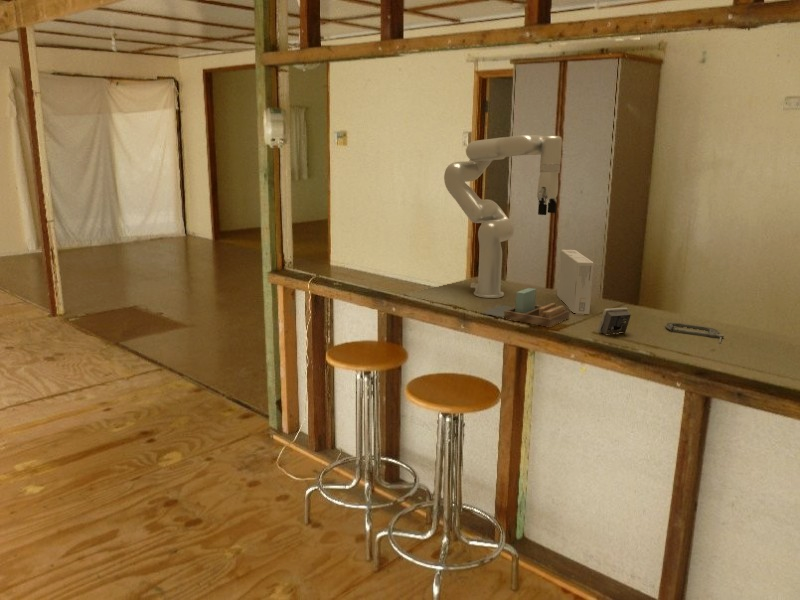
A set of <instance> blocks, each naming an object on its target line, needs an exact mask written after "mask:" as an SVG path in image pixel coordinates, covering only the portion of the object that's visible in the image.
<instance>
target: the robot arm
mask: <svg viewBox="0 0 800 600" xmlns="http://www.w3.org/2000/svg"><path fill="white" fill-rule="evenodd" d="M562 143H563V139H562V136H559V135H538V134H537V135H536V134H522V135H512V136H505V137H496V138H488V139H480V140H479V139H477V140H474V141H471V142H469V143H468V144H467V146H466V148H465V154H466V156H467V158H468V159H469V160H468V161H454V162H452V163H450V164H448V165H447V167H446V168H445V170H444V175H443V179H444V185H445V188H446V190H447V191H448V193H449V194H450V195H451V197H452V198H453V199H454V200H455V201H456V203H457V205H458V206H459V207H460V209H461V210H462V212H463V213H464V214H465V215H466V217H467V218H468V219H469V220H470V221H471V222H472V223H474V224H481V225H480V226H479V228H478V231H477V238H478V243H479V244H478V245H479V246H478V247H479V248H478V249H479V252H478V253H479V255H478V256H479V257H478V276H477V277H478V278H477V283H476V282H471V283H470V288H471V289H475V290H474V291H473V295H474V296H476V297H479V298H484V299H499V298H503V297H504V295H505V292H504V291H501V287H502V286H501V285H502V267H503V249H502V244H501V243H502V242H506V241H508V240H510V239H511V238H512V237H513V236H514V231H515V230H514V226H513V223H512V221H511V219H510V218H509V217H508V216H507V215H506V214H505V213H506V212H504V211H503V209H502V208H501V206H499V205H498V204H497V202H495V201H494V200H492V199H489V198H488V199H482V198H480V197H479V196H478V194H477V193H476V191H474V189H473V188H472V187H471V186H470V185H468V184H467V182H469V183H470V182H475V181H476V180H477V179H479V177H481V175H482V174H483V173H484V172H485V170H486V169H487V168H488V167H489V166H490V164H491V163H492V162H493V161H496V160H497V161H498V160H505V158H509V157H517V156H539V155H540V163H539V177H538V184H537V193H536V197H537V200H538V203H537V204H538V205H537V206H538V209H537V210H538V211H537V215H538V216H547V214H556V213H557V204H558V203H557V202H558V194H559V193H558V192H559V174H561V173H560V172H561V160H562V157H561V156H562V147H563V145H562Z"/></svg>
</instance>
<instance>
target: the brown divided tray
mask: <svg viewBox="0 0 800 600" xmlns="http://www.w3.org/2000/svg"><path fill="white" fill-rule="evenodd" d="M544 306H545V305H544ZM544 306H543V305H538V304H535V309H534V310H532V311H529V312H527V313H524V314H523V313H517V312H515V306H513V307H514V308H511V309H508V310H506V311H504V318H507V319H511V320H510V321H512V320H516V321H515V322H517V321H520V322H519V323H522V322H526V323H525V324H527V323H531V324H530V325H532V324H536V325H535V326H538V325H543V326H548V327H551V326H553V325H555V324H557V323H559V322H561V321H563V320H565V319H568V318H569V319H570V312H571V310H567V309H566V310H565V309H564V312H562V313H560V314H558V315H555V316H553V317H551V318H544V317H539V308H541V307H544ZM504 318H503V319H504ZM507 319H506V320H507ZM569 319H568V320H569ZM565 321H566V320H565ZM563 322H564V321H563ZM561 323H562V322H561ZM559 324H560V323H559ZM557 325H558V324H557ZM543 326H542V327H543ZM555 326H556V325H555ZM548 327H547V328H548ZM553 327H554V326H553ZM551 328H552V327H551Z"/></svg>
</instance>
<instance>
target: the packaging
mask: <svg viewBox="0 0 800 600" xmlns="http://www.w3.org/2000/svg"><path fill="white" fill-rule="evenodd" d="M559 256H560V257H559V268H558V269H559V272H558V283H557V292H556V293H557V294H556V295H557V297H558V299H559V300H560V301H561V300H562V301H563V302H564V303H565V304H566V305H567V306H568V307H569V308H568V307H567V306H566V305H565V304H564V303H563V302H562V301H561V302H562V303H563V304H564V305H565V306H566V307H567V308H568V309H569V311H570V312H571V311H572V312H573V313H584V314H589V315H590V311H591V299H592V290H593V289H592V287H593V275H594V266H595V265H594V264H595V263H594V262H593V261H592V260H590V259H589V258H588V257H586V256H585V255H583V254H582V253H580V252H579V251H578V250H576V249H560V254H559ZM572 312H571V313H572ZM573 313H572V314H573ZM584 314H583V315H584Z"/></svg>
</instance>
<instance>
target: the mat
mask: <svg viewBox="0 0 800 600" xmlns="http://www.w3.org/2000/svg"><path fill="white" fill-rule="evenodd" d="M514 307H515V306H509V305H504V304H503V305H498V306H496V307H492V308H491V309H488V310H485V311H483V312H480V315H482V314H487V315H493V316H498V317H504V311H506V310H508V309H511V308H514ZM487 315H486V316H487ZM498 317H497V318H498Z"/></svg>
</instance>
